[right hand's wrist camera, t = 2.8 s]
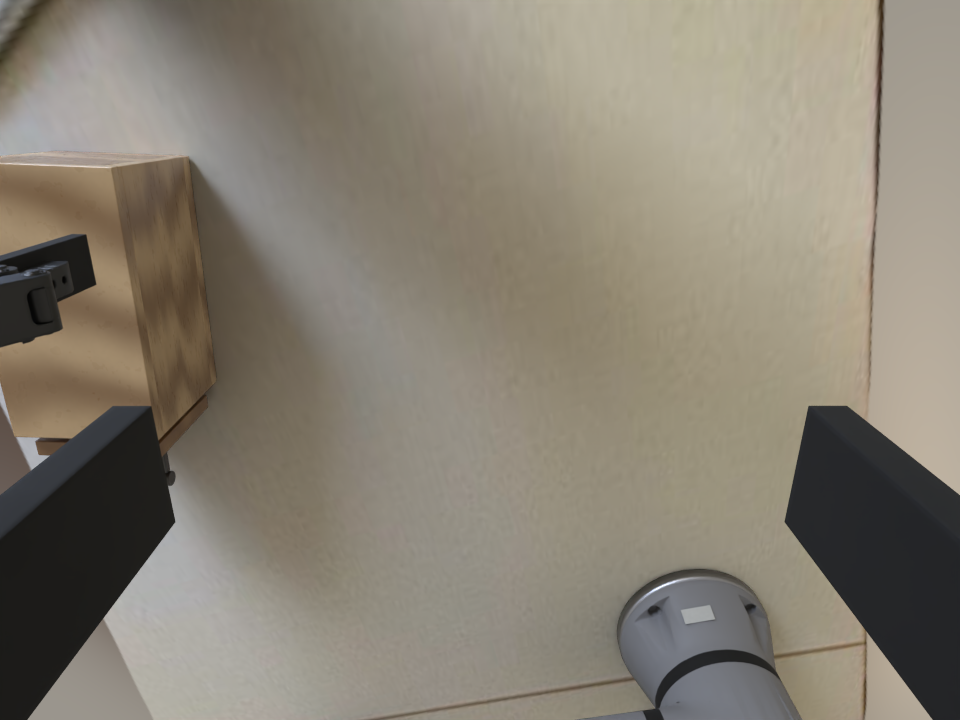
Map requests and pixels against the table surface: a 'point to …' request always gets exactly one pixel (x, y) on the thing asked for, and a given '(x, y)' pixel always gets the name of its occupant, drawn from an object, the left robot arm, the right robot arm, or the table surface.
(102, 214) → the cabinet
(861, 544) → the right robot arm
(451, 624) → the table surface
